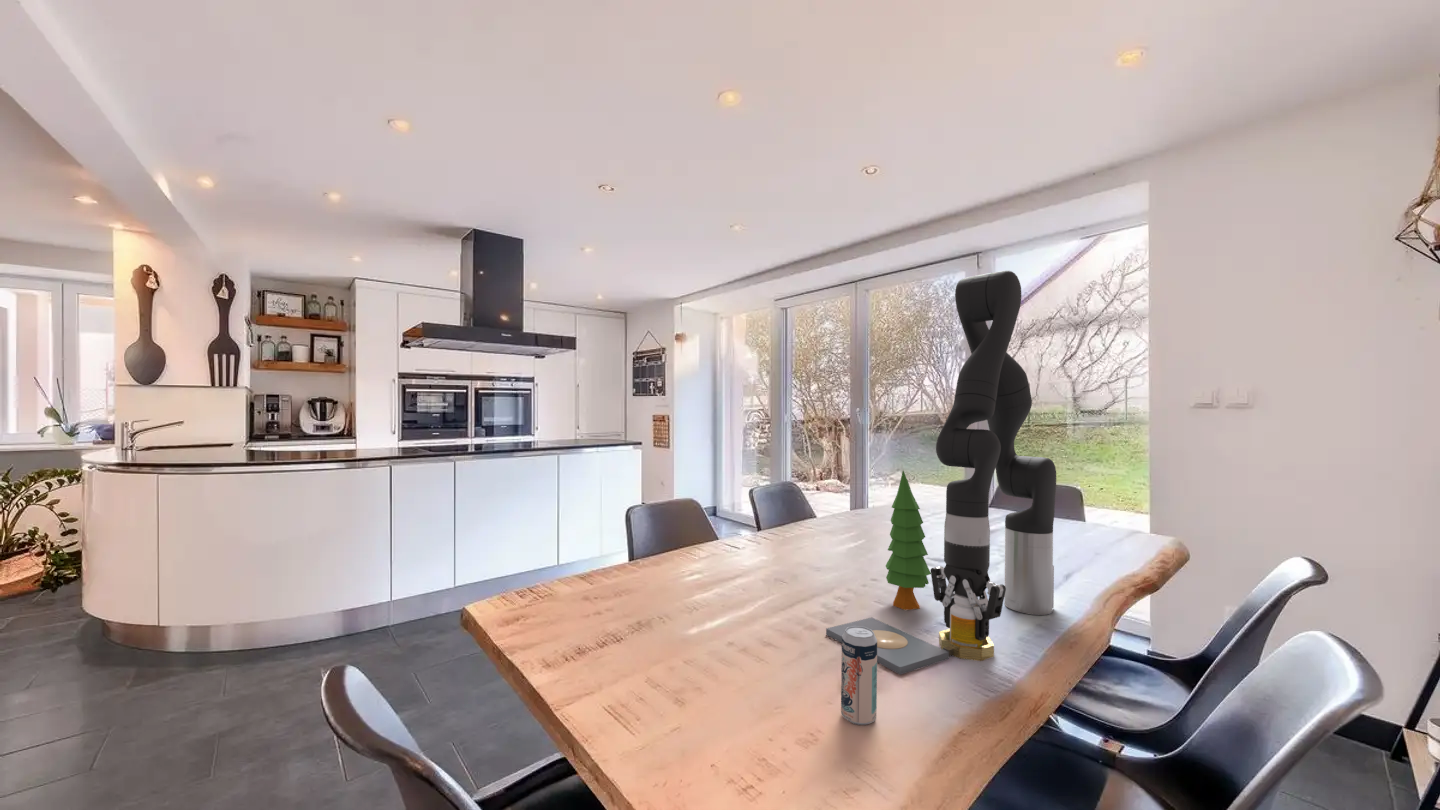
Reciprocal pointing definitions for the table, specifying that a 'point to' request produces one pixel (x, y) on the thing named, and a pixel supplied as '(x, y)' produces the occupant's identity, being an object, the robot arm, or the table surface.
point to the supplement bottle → (963, 622)
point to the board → (895, 646)
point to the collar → (966, 648)
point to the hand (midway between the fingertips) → (965, 632)
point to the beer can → (859, 675)
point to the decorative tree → (906, 548)
